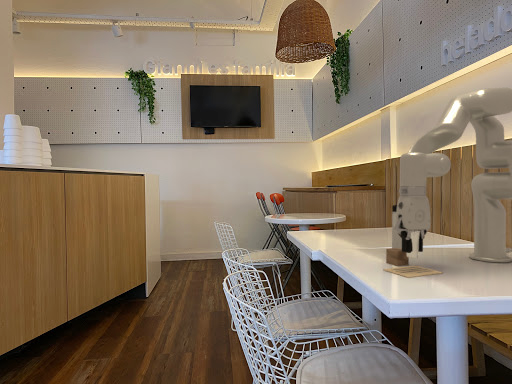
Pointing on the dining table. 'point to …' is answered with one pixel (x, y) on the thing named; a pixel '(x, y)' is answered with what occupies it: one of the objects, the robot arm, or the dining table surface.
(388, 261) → the walnut block
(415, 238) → the milkshake
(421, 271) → the letter
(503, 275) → the dining table surface
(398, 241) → the travel mug
